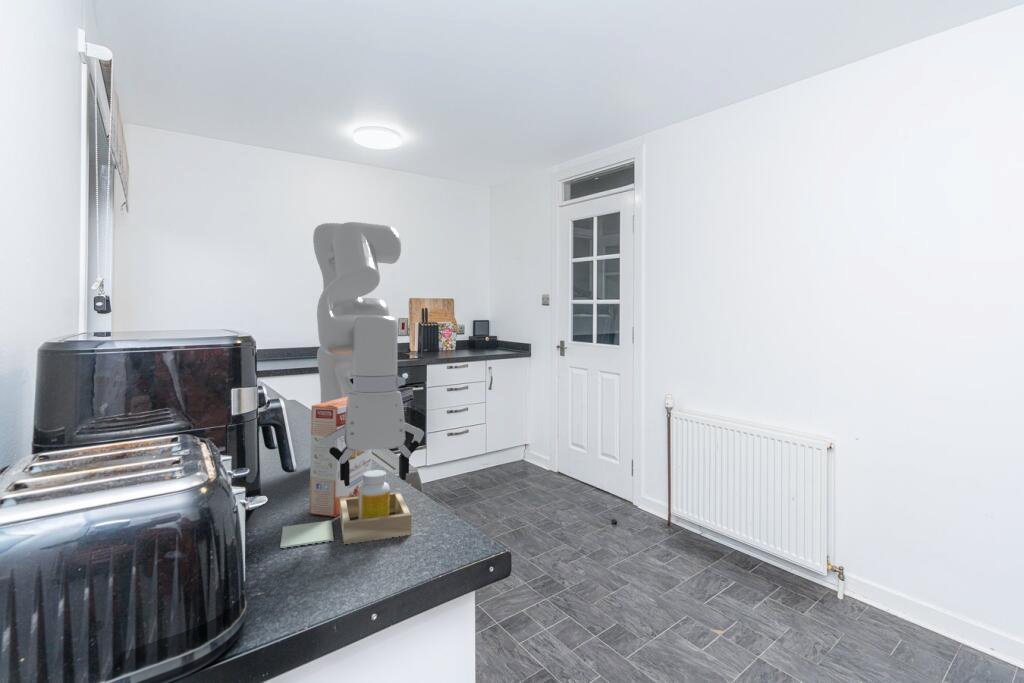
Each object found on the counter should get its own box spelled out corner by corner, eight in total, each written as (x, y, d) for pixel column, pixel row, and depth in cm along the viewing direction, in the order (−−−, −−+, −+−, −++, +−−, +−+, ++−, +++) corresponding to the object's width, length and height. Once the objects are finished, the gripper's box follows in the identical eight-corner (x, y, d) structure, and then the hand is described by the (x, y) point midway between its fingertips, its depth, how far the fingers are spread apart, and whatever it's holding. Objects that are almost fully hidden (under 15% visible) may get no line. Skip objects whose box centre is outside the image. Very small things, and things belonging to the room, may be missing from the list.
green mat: (282, 528, 84) (282, 526, 84) (331, 522, 88) (331, 520, 87) (280, 549, 77) (280, 546, 77) (333, 541, 80) (333, 538, 80)
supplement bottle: (353, 525, 87) (353, 472, 86) (380, 517, 90) (380, 466, 90) (367, 535, 83) (368, 480, 82) (395, 526, 86) (395, 473, 86)
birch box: (339, 517, 90) (339, 498, 90) (399, 509, 94) (399, 491, 94) (343, 545, 79) (343, 524, 79) (411, 534, 83) (411, 514, 83)
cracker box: (337, 518, 89) (337, 406, 88) (308, 515, 90) (308, 404, 90) (373, 492, 103) (374, 395, 102) (347, 490, 104) (348, 394, 103)
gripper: (419, 381, 92) (419, 470, 92) (322, 384, 85) (322, 480, 86) (428, 385, 85) (427, 481, 86) (323, 389, 79) (323, 493, 79)
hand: (375, 480), depth 86 cm, fingers open, 9 cm apart
